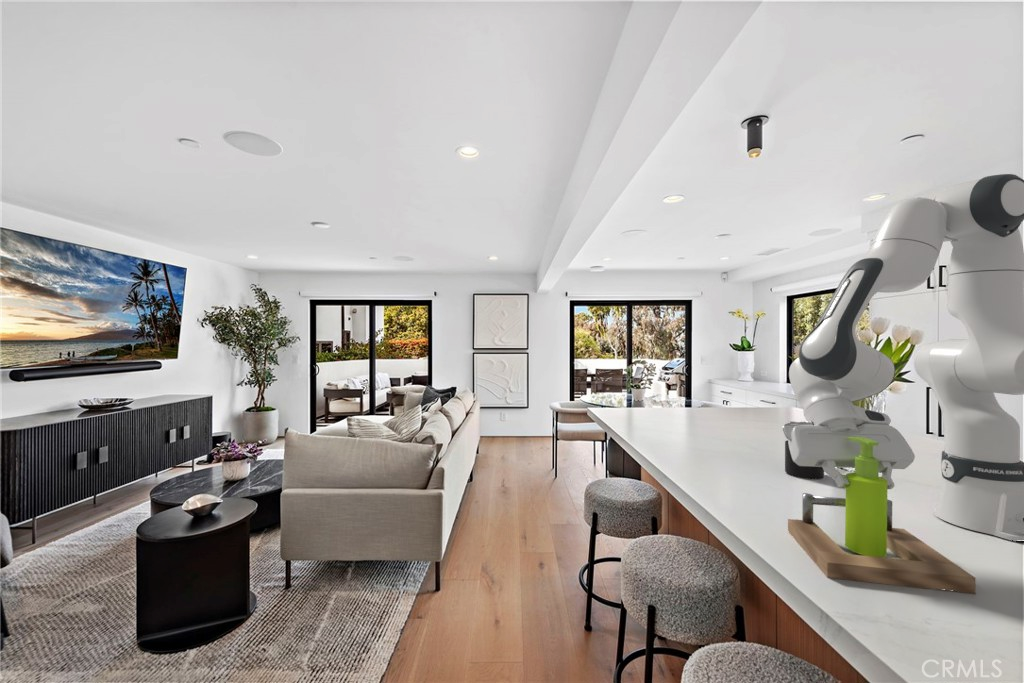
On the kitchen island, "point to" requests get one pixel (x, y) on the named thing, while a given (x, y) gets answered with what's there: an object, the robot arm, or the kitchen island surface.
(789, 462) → the mug
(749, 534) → the kitchen island surface
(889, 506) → the steel rail
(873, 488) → the soap dispenser
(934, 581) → the walnut board
